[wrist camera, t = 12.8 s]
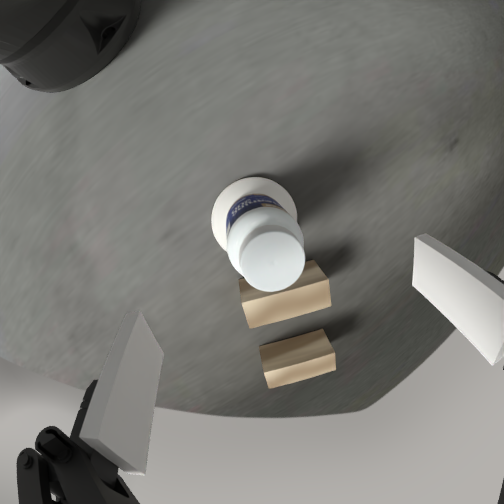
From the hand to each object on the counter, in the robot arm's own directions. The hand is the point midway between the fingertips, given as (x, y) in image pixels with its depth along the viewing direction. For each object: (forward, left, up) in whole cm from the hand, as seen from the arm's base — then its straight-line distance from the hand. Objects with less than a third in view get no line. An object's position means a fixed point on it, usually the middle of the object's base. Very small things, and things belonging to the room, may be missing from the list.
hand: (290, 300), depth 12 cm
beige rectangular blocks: (+12, +1, -15) cm, 20 cm away
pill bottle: (0, 0, -15) cm, 15 cm away
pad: (0, 0, -15) cm, 15 cm away
